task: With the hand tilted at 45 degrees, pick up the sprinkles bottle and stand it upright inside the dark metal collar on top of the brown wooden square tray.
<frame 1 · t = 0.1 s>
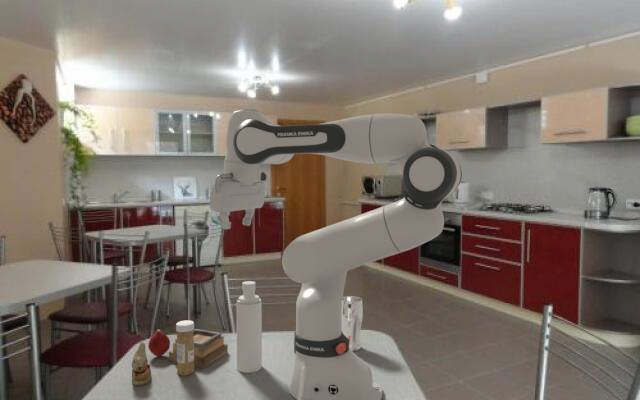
hand: (236, 226, 115), 39 cm above the table, tool pointing down, fingers open, 8 cm apart
brown wooden square tray: (199, 356, 128), on the table
beer glass: (350, 348, 135), on the table
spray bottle: (249, 368, 121), on the table
chocolate bunny: (141, 380, 114), on the table
sprinkles bottle: (185, 372, 118), on the table
onion: (159, 357, 128), on the table
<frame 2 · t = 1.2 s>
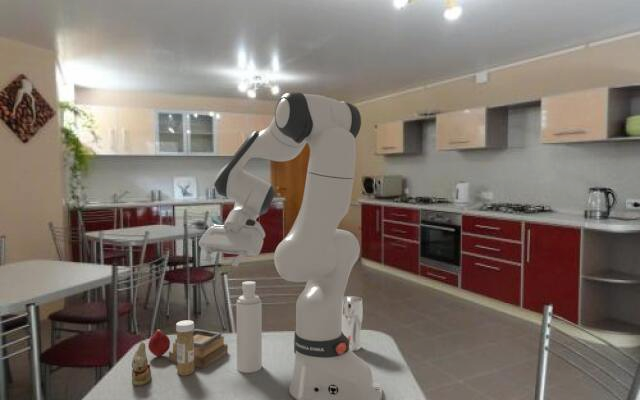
hand: (220, 263, 131), 26 cm above the table, tool tilted 45°, fingers open, 8 cm apart
nothing on the table moved.
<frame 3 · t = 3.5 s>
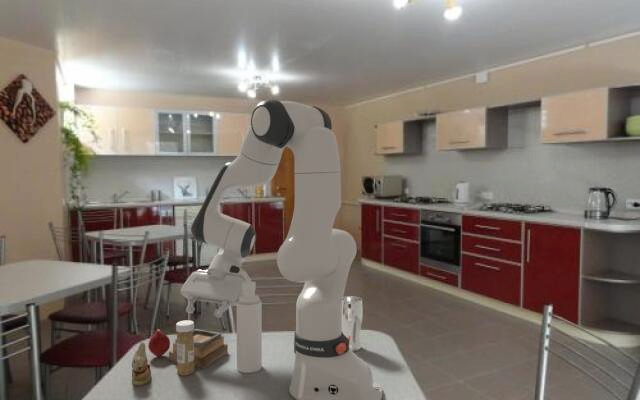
hand: (202, 314, 124), 13 cm above the table, tool tilted 45°, fingers open, 8 cm apart
nothing on the table moved.
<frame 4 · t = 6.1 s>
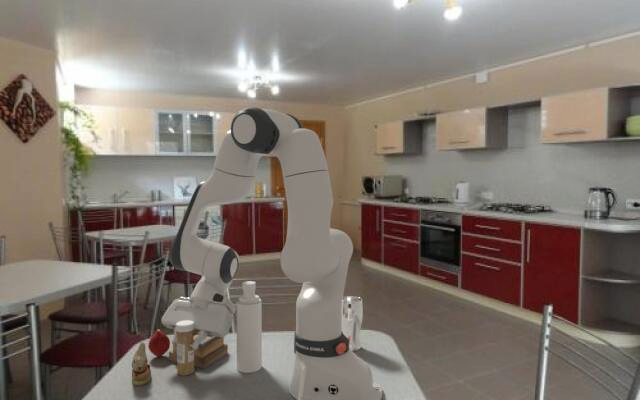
hand: (183, 346, 117), 7 cm above the table, tool tilted 45°, fingers closed on sprinkles bottle, 4 cm apart
sprinkles bottle: (185, 373, 118), on the table, touching gripper
everything else where it was.
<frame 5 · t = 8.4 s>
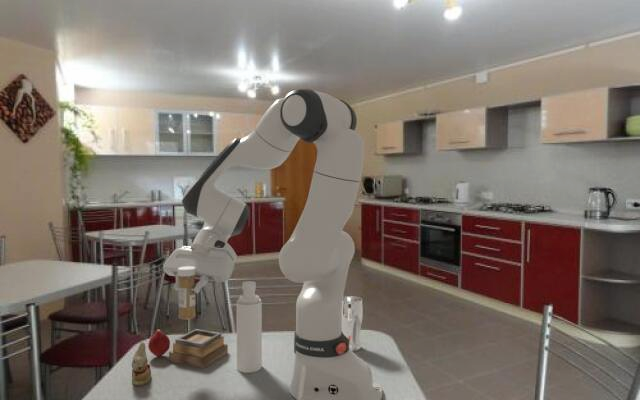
hand: (185, 290, 118), 22 cm above the table, tool tilted 45°, fingers closed on sprinkles bottle, 4 cm apart
sprinkles bottle: (187, 317, 119), point 14 cm above the table, touching gripper
everything else where it was.
when the fingers open (14 cm above the table, at t = 11.0 s): sprinkles bottle drops 2 cm, resting on brown wooden square tray.
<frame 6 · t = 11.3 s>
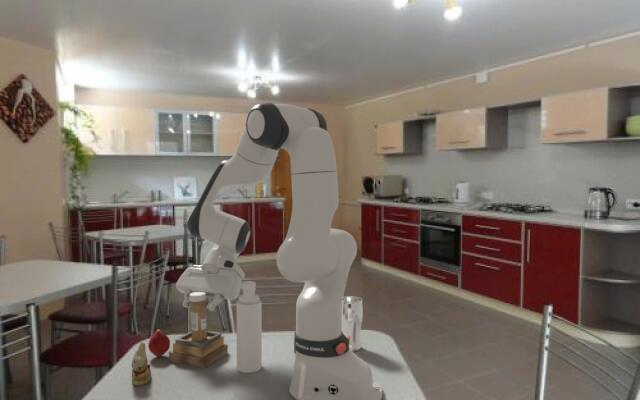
hand: (197, 308, 126), 14 cm above the table, tool tilted 45°, fingers open, 7 cm apart
sprinkles bottle: (199, 340, 127), point 5 cm above the table, touching brown wooden square tray
everything else where it was.
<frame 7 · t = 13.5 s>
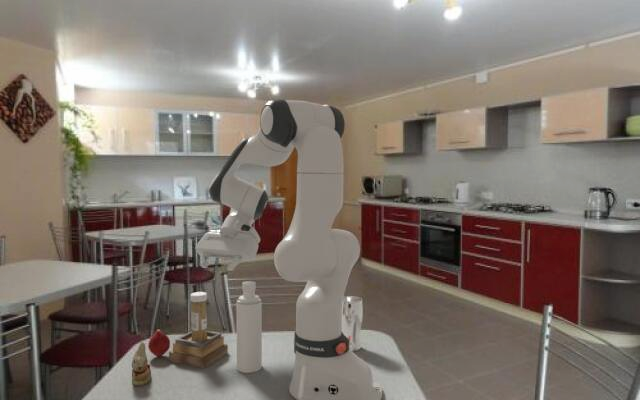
hand: (216, 268, 134), 24 cm above the table, tool tilted 45°, fingers open, 8 cm apart
nothing on the table moved.
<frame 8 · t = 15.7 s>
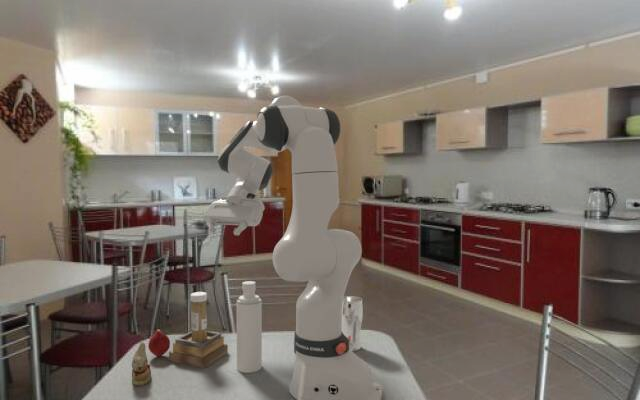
hand: (223, 233, 142), 33 cm above the table, tool tilted 45°, fingers open, 8 cm apart
nothing on the table moved.
at the end: sprinkles bottle 0.1 cm off-centre on the brown wooden square tray, point 4.8 cm above the brown wooden square tray's base; sprinkles bottle tilted 0°; the gripper is holding nothing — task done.
